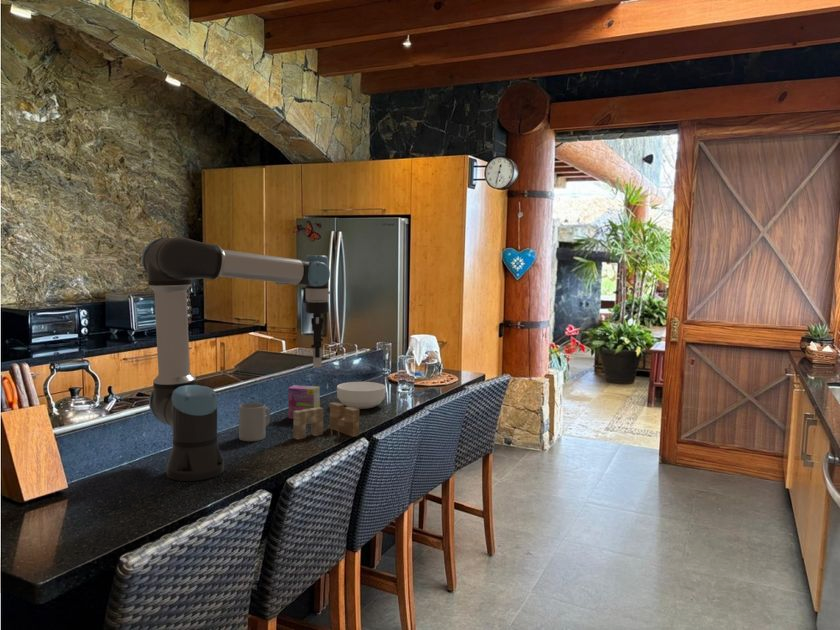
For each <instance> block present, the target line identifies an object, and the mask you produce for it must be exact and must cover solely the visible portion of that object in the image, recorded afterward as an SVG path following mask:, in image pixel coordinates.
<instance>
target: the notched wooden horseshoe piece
mask: <svg viewBox="0 0 840 630" xmlns="http://www.w3.org/2000/svg"><path fill="white" fill-rule="evenodd" d="M307 425H310V434H311V435H312V436H315V437H317V436H321V435H324V408H323V407H321V406H320V407H316V408H310V409H304V410H298V411H294V419H293V431H292V432H293V433H292V434H293V439H295V440H302V439H306V438H307V437H306V436H307V435H306V433H307V432H306V430H307V429H306V428H307Z"/></svg>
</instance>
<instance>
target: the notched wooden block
mask: <svg viewBox="0 0 840 630" xmlns="http://www.w3.org/2000/svg"><path fill="white" fill-rule="evenodd" d="M329 429H331V430H334V431H336V432H338V433H342V434H345V435H347V436H350V437H358V436H360V409H358V408H353V407H347V406H346V407H345V405H344V404H342V403H341V402H336V401H334V402H330V403H329Z"/></svg>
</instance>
